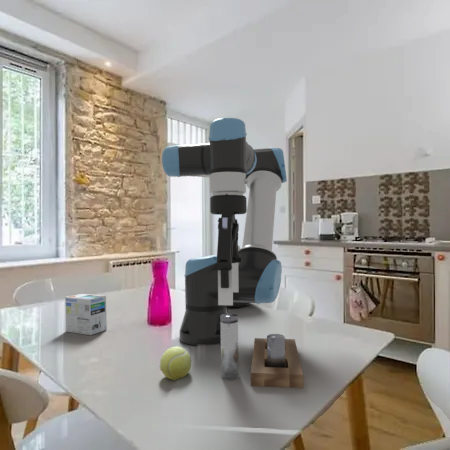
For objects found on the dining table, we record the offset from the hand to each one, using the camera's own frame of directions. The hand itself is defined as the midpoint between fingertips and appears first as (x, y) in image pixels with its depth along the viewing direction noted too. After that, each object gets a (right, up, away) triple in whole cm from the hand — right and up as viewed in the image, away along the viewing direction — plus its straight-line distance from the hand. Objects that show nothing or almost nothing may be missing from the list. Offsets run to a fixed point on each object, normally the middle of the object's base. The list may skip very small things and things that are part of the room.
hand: (229, 298), depth 75 cm
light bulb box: (-43, -18, +36) cm, 59 cm away
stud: (0, -17, 0) cm, 17 cm away
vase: (+2, -17, +71) cm, 73 cm away
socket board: (+10, -17, +6) cm, 20 cm away
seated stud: (+10, -16, 0) cm, 19 cm away
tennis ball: (-11, -17, +1) cm, 20 cm away
